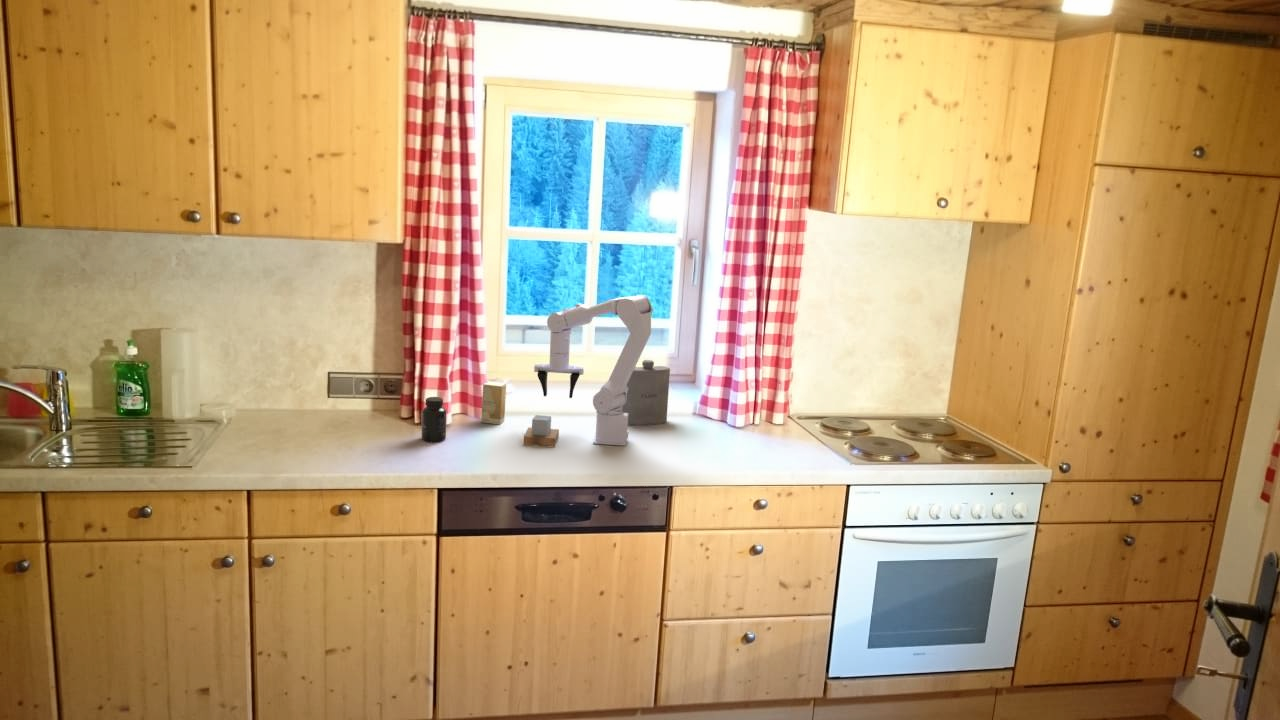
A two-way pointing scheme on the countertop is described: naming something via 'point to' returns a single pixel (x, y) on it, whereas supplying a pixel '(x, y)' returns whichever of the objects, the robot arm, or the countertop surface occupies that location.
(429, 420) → the supplement bottle
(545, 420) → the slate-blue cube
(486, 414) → the skincare box
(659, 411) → the flask
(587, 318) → the robot arm
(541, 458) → the countertop surface
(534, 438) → the walnut block
